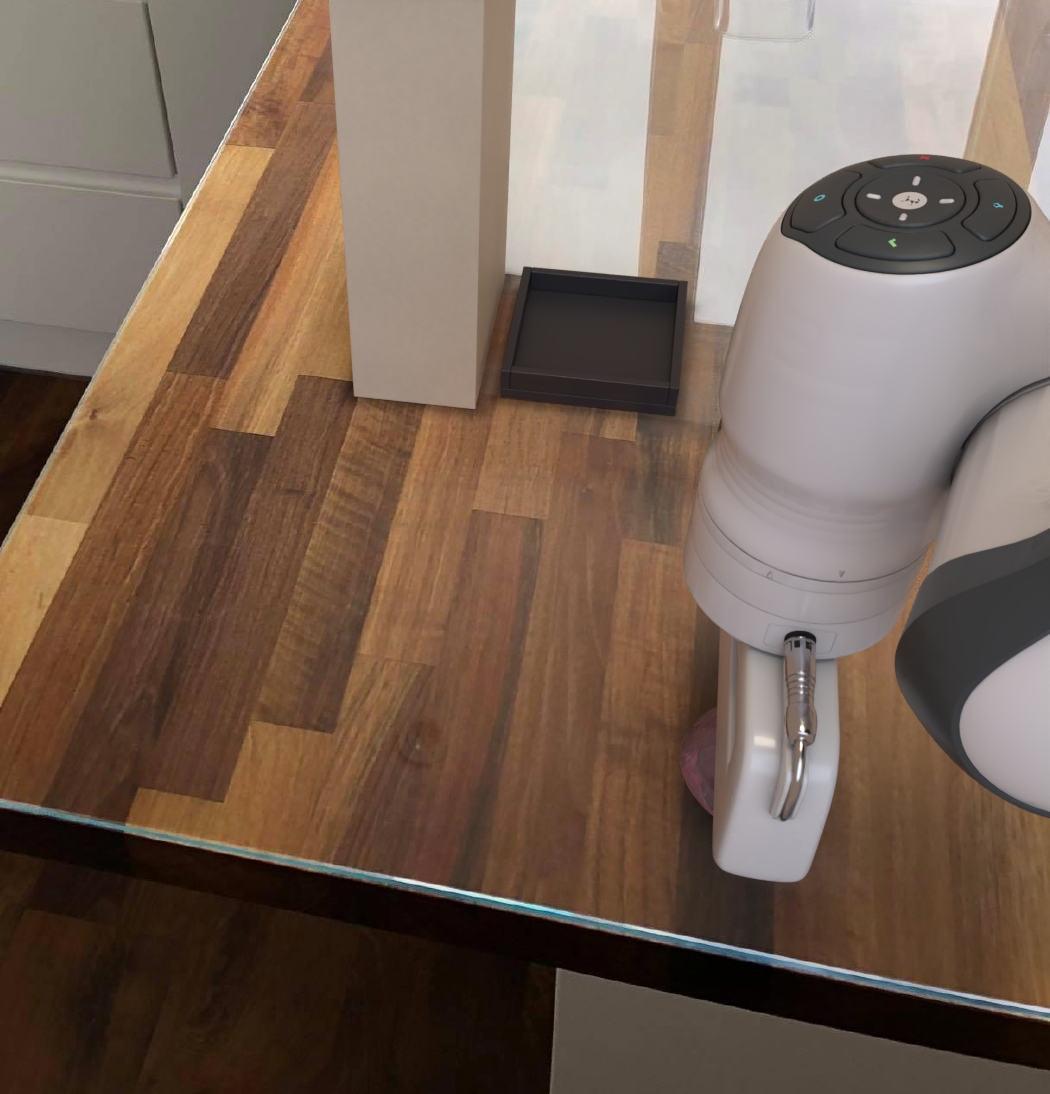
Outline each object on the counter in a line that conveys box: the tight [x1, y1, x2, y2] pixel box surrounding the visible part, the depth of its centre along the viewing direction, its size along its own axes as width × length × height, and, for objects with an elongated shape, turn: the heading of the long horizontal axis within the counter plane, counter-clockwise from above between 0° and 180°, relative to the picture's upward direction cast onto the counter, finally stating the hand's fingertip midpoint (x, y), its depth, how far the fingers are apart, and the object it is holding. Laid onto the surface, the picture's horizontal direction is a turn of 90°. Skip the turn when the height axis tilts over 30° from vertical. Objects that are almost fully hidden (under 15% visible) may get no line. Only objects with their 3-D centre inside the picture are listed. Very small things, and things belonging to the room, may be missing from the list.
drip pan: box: [499, 265, 689, 417], centre depth 91 cm, size 11×11×2 cm
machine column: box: [328, 0, 517, 410], centre depth 83 cm, size 9×15×30 cm, turn 169°
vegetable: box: [678, 706, 717, 816], centre depth 64 cm, size 6×6×10 cm
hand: (739, 745), depth 64 cm, fingers open, 8 cm apart
